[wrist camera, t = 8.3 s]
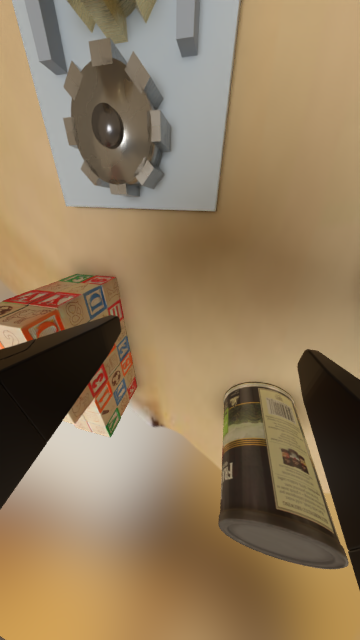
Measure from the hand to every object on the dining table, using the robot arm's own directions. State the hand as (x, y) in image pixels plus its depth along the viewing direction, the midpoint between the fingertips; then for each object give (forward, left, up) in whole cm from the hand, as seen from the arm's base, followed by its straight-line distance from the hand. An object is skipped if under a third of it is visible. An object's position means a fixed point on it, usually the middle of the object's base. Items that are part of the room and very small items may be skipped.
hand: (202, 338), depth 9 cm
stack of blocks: (+15, +13, -12) cm, 23 cm away
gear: (+8, -10, -11) cm, 17 cm away
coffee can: (-9, +20, -12) cm, 25 cm away
